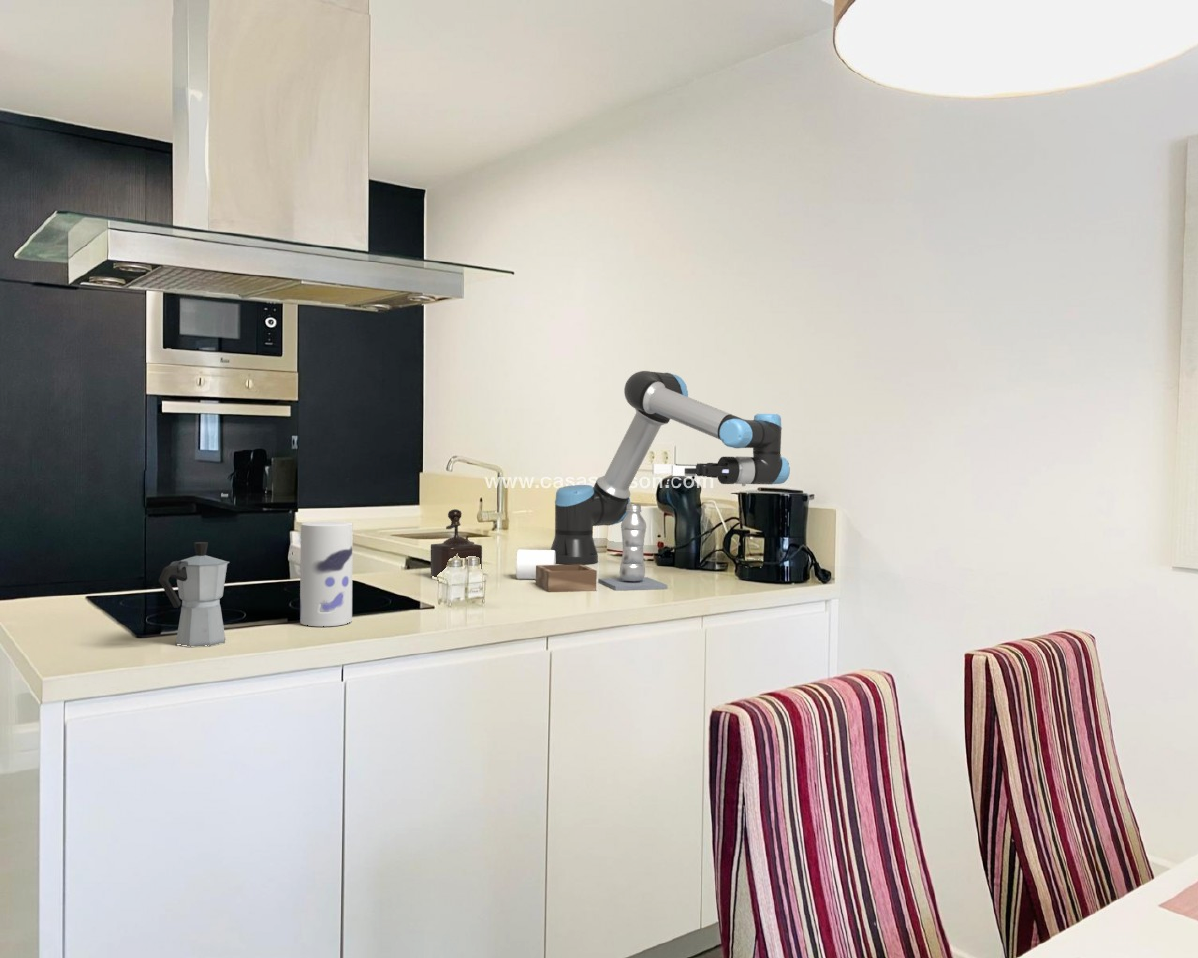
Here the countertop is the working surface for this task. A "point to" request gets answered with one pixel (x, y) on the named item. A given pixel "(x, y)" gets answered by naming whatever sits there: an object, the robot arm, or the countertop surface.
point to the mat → (632, 584)
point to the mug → (532, 562)
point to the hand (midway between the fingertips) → (662, 469)
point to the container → (326, 573)
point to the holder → (566, 578)
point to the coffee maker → (197, 597)
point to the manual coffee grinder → (452, 547)
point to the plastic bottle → (633, 545)
